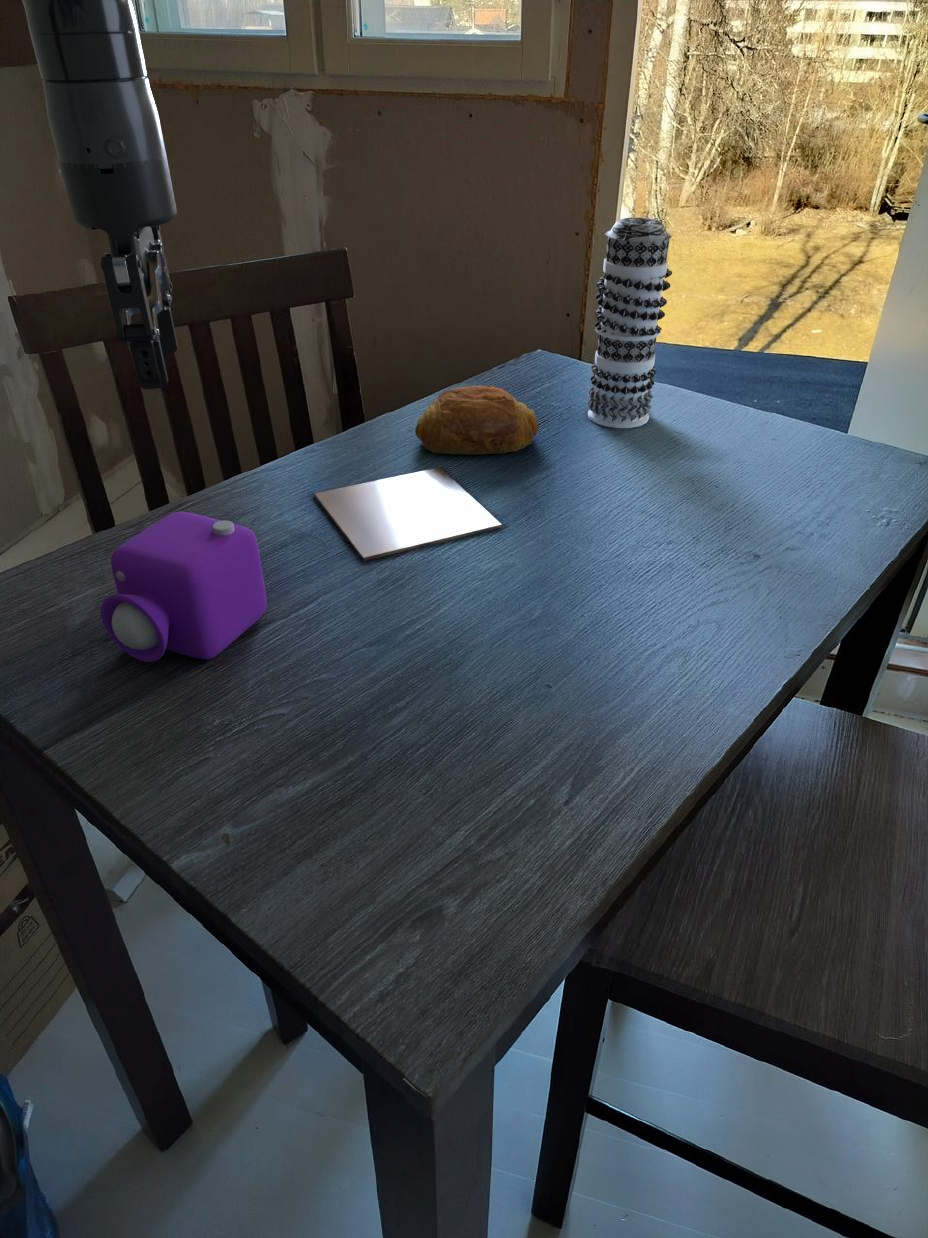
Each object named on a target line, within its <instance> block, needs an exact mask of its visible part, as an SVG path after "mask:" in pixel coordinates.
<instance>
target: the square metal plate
mask: <svg viewBox="0 0 928 1238" xmlns="http://www.w3.org/2000/svg"><path fill="white" fill-rule="evenodd" d="M313 495H314V497H315V499H316V500H317V501H318V503H319V504H320V505H321V507H322V508H323V509H324V511H325V512H326V514H328V516H329V518H331V520H332V521H333V523H334V524H335V526H336V527H337V528H338V529H339V530H340V532H341V534H343V536H344V537H345V539H346V540H347V541H348V542H349V544H350V546H352V548H353V549H354V550H355V552H356V553H357V554H358V555H359V557H360V558H361V559H362V561H363V562H365V561H371V560H374V559H377V558H381V557H386V556H390V555H394V554H398V553H404V552H407V551H411V550H414V549H415V550H416V549H419V548H423V547H427V546H431V545H437V544H440V543H443V542H448V541H451V540H455V539H460V538H465V537H469V536H473V535H476V534H477V535H478V534H481V533H484V532H485V533H486V532H489V531H494V530H497V529H501V528H503V524H502V523H501V522H500V521H499V520H498V519H497V518H496V517H494V516H493V515H492V514H491V513H490V512H489V511H488V510H487V509H486V508H485V507H484V506H483V505H482V504H480V503H479V502H478V501H477V500H476V499H475V498H474V497H473V496H472V495H471V494H470V493H468V492H467V490H465V489H464V488H463V487H462V486H461V485H460V484H459V483H458V482H456V480H455V479H453V478H452V476H450V475H449V474H448V473H447V472H446V471H445V470H443V469H442V468H441V467H440V466H439V467H435V468H430V469H425V470H420V471H416V472H410V473H405V474H401V475H396V476H391V477H386V478H381V479H377V480H371V481H367V482H362V483H358V484H353V485H348V486H343V487H337V488H334V489H328V490H324V491H318V492H314V494H313Z"/></svg>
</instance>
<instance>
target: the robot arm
mask: <svg viewBox="0 0 928 1238" xmlns="http://www.w3.org/2000/svg"><path fill="white" fill-rule="evenodd" d="M21 2H22V4H23V7H24V12H25V16H26V21H27V26H28V32H29V33H30V35H29V36H30V39H31V43H32V47H33V51H34V55H35V59H36V62H37V67H38V70H39V71H38V72H39V74H40V78H41V79H42V87H43V91H44V98H45V108H46V114H47V119H48V125H49V129H50V132H51V136H52V137H51V138H52V140H53V144H54V147H55V151H56V155H57V159H58V163H59V167H60V171H61V175H62V179H63V183H64V187H65V190H66V191H65V192H66V195H67V198H68V203H69V206H70V210H71V214H72V218H73V220H74V222H75V223H76V224H77V225H78V226H80V227H82V228H84V229H88V230H93V231H94V230H101V231H103V232H104V233H106V235H107V237H108V240H107V241H108V248H109V252H105V253H104V255H103V256H101V258H100V269H101V270H102V272H103V277H104V280H105V284H106V289H107V293H108V298H109V301H110V302H109V303H110V305H111V306H110V307H111V310H112V314H113V319H114V323H115V324H114V325H115V327H116V337H117V338H118V339H119V342H120V343H126V344H128V345H129V349H130V354H131V358H132V363H133V366H134V370H135V374H136V379H137V382H138V383H137V384H138V385H139V387H140V388H141V389H143V390H157V389H158V390H159V389H165V388H166V387H167V386H168V383H169V377H168V371H167V368H166V363H165V358H164V354H174V353H176V352H177V350H178V348H179V343H178V339H177V334H176V330H175V329H176V328H175V324H174V319H173V315H172V310H171V307H172V302H173V296H172V295H171V293H172V292H173V288H174V287H173V286H174V285H173V282H171V277H170V273H169V268H168V263H167V259H166V251H165V248H164V244H163V240H162V235H161V226H162V225H164V224H165V225H166V224H167V223H169V222H171V221H173V220H174V219H175V218H176V216H177V214H178V209H177V204H176V200H175V199H176V198H175V193H174V188H173V183H172V178H171V172H170V167H169V162H168V156H167V152H166V147H165V141H164V135H163V131H162V127H161V126H162V125H161V121H160V116H159V112H158V108H157V105H156V101H155V98H154V95H153V93H152V90H151V85H150V80H149V77H148V71H147V68H146V61H145V56H144V52H143V46H142V42H141V36H140V32H139V25H138V19H137V16H136V11H135V8H134V7H135V6H134V5H133V4H134V3H133V0H21ZM139 314H140V315H141V319H142V323H132V316H133V315H139Z"/></svg>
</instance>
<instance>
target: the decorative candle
mask: <svg viewBox="0 0 928 1238" xmlns="http://www.w3.org/2000/svg"><path fill="white" fill-rule="evenodd" d="M604 235H605V236H606V237H607V244H606V256H605V258H603V268H602V272H603V276H601V277H600V278H599V279H598V282H597V283H596V287H597V288H598V289H597V291H598V293H597V294H596V295H595V299H596V303H597V305H599V306H598V307H597V309H596V311H595V312H594V314H595V316H596V322H595V323H594V325H593V326H594V327H595V329H594V330H595V331H596V333H597V335H598V339H597V349H596V351H594V352H595V353H594V362H593V364H592V365H591V367H590V368H591V371H592V373H593V375H591V377H590V381H591V384H592V386H591V387H590V388H589V390H588V395H589V399H588V401H587V405H588V408H589V410H588V411H587V416H588V419H589V420H590V421H591V422H593V423H595V424H597V425H600V426H603V427H608V428H614V429H632V428H637V427H641V426H644V425H645V424H647V423H648V421H649V419H650V414H649V413H650V410H651V409H652V405H651V404H650V403H651V402H652V399H653V397H654V395H653V393H652V388H653V386H654V385H655V380H653V378H654V377H655V375H656V373H657V369H656V368H655V360H656V353H655V352H656V344H657V338H658V337H659V336H660V334H662V333H661V332H662V330H663V329H662V327H661V326H659V324H658V322H659V321H660V320H663V318H665V316H666V313H665V312H664V310H663V309H662V308H663V307H665V306H666V305H667V304H668V300H667V298H665V297H664V296H663V295H662V292H666V291H667V290H668V289H670V288H671V283H670V282H668V280H667V279H668V278H669V277H671V276H672V274H673V270H670V269H669V268H668V263H669V261H668V253H669V246H670V239H671V238H672V237H673V235H671V233H670V232H668V231H667V230H666V226H665V225H664V223H663V222H662V221H660V220H658V219H655V218H650V217H625V218H621V219H618V220H616V222H615V223H614V224H613V226H612V228H611V229H610V230H607V231H606V232H605V233H604Z"/></svg>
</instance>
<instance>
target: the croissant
mask: <svg viewBox="0 0 928 1238" xmlns="http://www.w3.org/2000/svg"><path fill="white" fill-rule="evenodd" d="M416 422H417V423H416V426H415V430H414V432H415V433H414V434H415V437H416V438H417V439H419V440H420V441H421V443H422V445H423V448H425V449H426V450H428V451H429V452H431V453H435V454H447V455H449V454H450V455H489V454H490V455H492V454H493V455H494V454H506V453H508V452H517V451H519V450H522V449H525V448H526V446H529V445H531V444H532V443H533V441H534V437H536V436H537V434H538V431H539V422H538V418H537V415H536V413H535V410H533V409H530V408H529V407H528V406H527V404H525V403H523V402H521V401H518V400H516V398H515V397H514V396H513V395H512V394H510V393H509V392H508V391H506V390H505V388H502V387H501V388H500V387H497V386H493V385H488V384H486V385H467V386H461V387H456V388H455V387H454V388H451V389H449V390H443V391H442V392H441V393H439V395H438V396H437V397H436V399H435V400H433V402H432V403H431V404H430V405H429V406H428V407H427V408H426V409H425V411H424V413H423V414H421V415H420V416H419V418H418V419H417V421H416Z"/></svg>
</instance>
